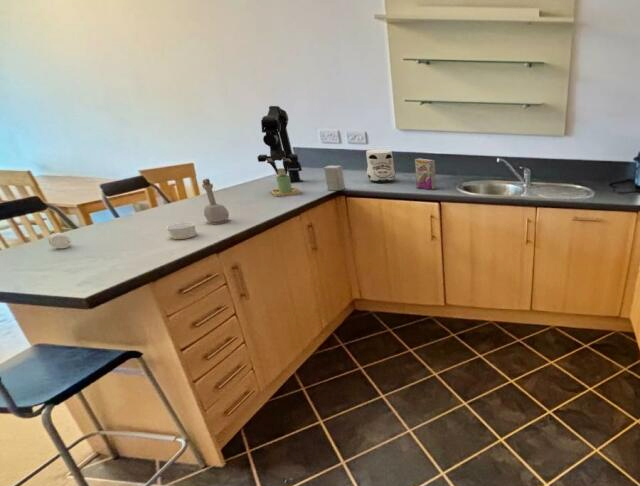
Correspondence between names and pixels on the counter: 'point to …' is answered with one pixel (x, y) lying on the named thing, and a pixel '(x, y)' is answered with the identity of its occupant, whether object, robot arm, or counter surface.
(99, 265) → the counter surface
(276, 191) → the tray
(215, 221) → the potion bottle
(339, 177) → the white packaging box
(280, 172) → the cap
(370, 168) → the cream face block
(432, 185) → the candy bar box
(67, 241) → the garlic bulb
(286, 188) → the bottle
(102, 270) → the counter surface
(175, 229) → the ramekin
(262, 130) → the robot arm
